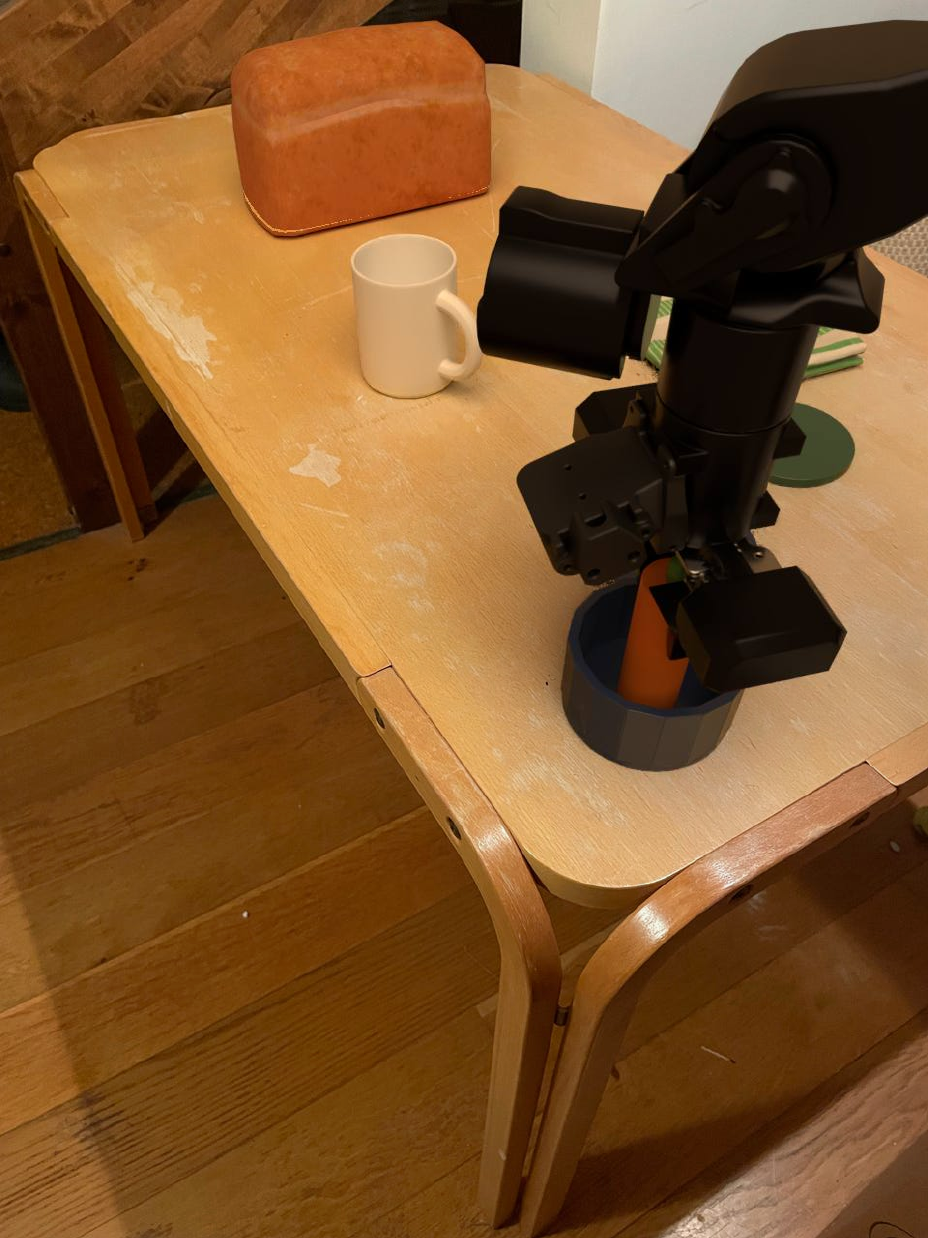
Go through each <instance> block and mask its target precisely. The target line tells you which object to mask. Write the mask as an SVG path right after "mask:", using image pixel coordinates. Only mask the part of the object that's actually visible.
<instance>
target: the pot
mask: <svg viewBox="0 0 928 1238" xmlns="http://www.w3.org/2000/svg"><path fill="white" fill-rule="evenodd" d="M637 594H638V585H637V578H624V579H620V580H618V581H616V582H614V581H612V582H611V583H609V584H607V585H606V584H605V585H604V586H602V587H599V588H597V589H596V590H593V591H592V592H591V593H590V594H589V595H588V597H586V598H585V599H584V600H583V602H581V604H579V606H577V608H576V609H575V610H574V612H573V615H572V618H571V623H570V626H569V629H568V633H567V638H566V644H565V652H564V660H563V667H562V674H561V681H560V682H561V683H560V693H561V704H562V708H563V711H564V715H565V718H566V720H567V722H568V723H569V725H570V727H571V729H572V730H573V732H574V733H575V735H577V737H578V738H579V739H580V740H581V741H582V743H584V744H585V745H586V746H587V747H588V748H589V749H590V750H592V751H593V752H595V753H596V754H598V755H599V756H601V757H603V758H604V759H606V760H608V761H610V762H612V763H614V764H616V765H618V766H622V767H625V768H629V769H633V770H637V771H643V772H654V773H656V772H670V771H675V770H680V769H684V768H688V767H690V766H692V765H694V764H696V763H699V762H701V761H702V760H704V759H705V758H707V757H708V756H710V755H711V754H712V753H713V752H714V751H715V750H716V749H717V748H718V747H719V745H720V744H721V743H722V742H723V740H724V738H725V736H726V734H727V732H728V731H729V730H730V728H731V726H732V724H733V721H734V718H735V716H736V714H737V711H738V709H739V707H740V703H741V702H742V699H743V696H744V693H745V692H746V689H742V690H737V691H732V692H727V693H723V694H719V693H717V692H715V691H712V690H710V689H708V688H706V687H703V686H702V684H701V682H700V680H699V678H698V676H697V674H696V673H695V671H694V669H693V667H692V665H691V663H690V661H689V663H688V666H687V669H686V672H685V675H684V679H683V682H682V685H681V688H680V692H679V695H678V698H677V701H676V704H675V707H674V708H673V709H666V710H664V709H660V708H656V707H651V706H647V705H642V704H638V703H634V702H630V701H629V700H627V699H625V698H624V697H622V696H620V695H619V694H617V686H618V681H619V677H620V672H621V667H622V663H623V658H624V654H625V649H626V644H627V640H628V635H629V631H630V626H631V621H632V617H633V612H634V608H635V603H636V598H637Z"/></svg>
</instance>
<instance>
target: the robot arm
mask: <svg viewBox="0 0 928 1238" xmlns="http://www.w3.org/2000/svg"><path fill="white" fill-rule="evenodd" d="M927 217H928V20H922V19H921V20H918V19H889V20H888V19H887V20H880V21H872V22H864V23H854V24H848V25H847V24H845V25H839V26H831V27H829V26H828V27H822V28H821V27H820V28H814V29H813V28H812V29H805V30H798V31H795V32H789V33H786V34H784V35H782V36H780V37H777V38H776V39H774V40H772V41H770V42H768V43H765V44H763V45H761V46H760V47H759V48H757V49H756V50H755V51H754V52H752V54H750V55H749V56H748V57H746V58H745V60H744V61H743V62H742V64H741V65H740V66H739V68H738V69H737V70H736V72H735V73H734V75H733V76H732V78H731V80H730V82H729V83H728V84H727V86H726V88H725V90H724V91H723V92H722V94H721V96H720V99H719V101H718V103H717V104H716V106H715V109H714V111H713V113H712V115H711V117H710V119H709V121H708V123H707V125H706V127H705V129H704V131H703V134H702V136H701V138H700V139H699V142H698V144H697V145H696V148H695V149H694V150H693V151H692V152H691V153H690V154H689V155H688V156H687V157H686V158H685V159H684V160H683V161H682V162H681V163H680V164H679V165H678V166H677V167H676V168H675V169H674V170H672V171H671V172H669V173H666V174H665V176H664V178H663V180H662V182H661V183H660V185H659V187H658V189H657V191H656V193H655V195H654V196H653V199H652V200H651V202H650V204H649V206H648V208H647V210H646V211H645V210H644V209H636V208H630V207H624V206H618V205H612V204H607V203H606V204H605V203H599V202H593V201H588V200H580V199H574V198H568V197H564V196H562V195H559V194H557V193H554V192H552V191H549V190H547V189H544V188H538V187H532V186H525V185H518V186H516V187H515V188H514V189H513V191H511V193H510V194H509V196H508V197H507V198H506V199H505V201H504V202H503V204H502V205H501V206H500V207H499V210H498V235H497V237H496V239H495V242H494V244H493V249H492V251H491V254H490V258H489V262H488V267H487V270H486V275H485V281H484V285H483V286H484V287H483V293H482V296H481V297H480V299H479V300H478V302H477V306H476V317H475V318H476V325H477V338H478V343H479V347H480V349H481V351H482V353H483V355H485V356H487V357H493V358H497V359H501V360H507V361H511V362H517V363H522V364H527V365H531V366H535V367H542V368H546V369H551V370H556V371H560V372H566V373H569V374H570V373H571V374H575V375H579V376H584V377H589V378H594V379H598V380H599V379H600V380H604V381H608V382H610V381H612V380H613V379H616V380H620V379H621V378H622V375H623V371H624V368H625V364H626V358H627V357H628V359H629V360H633V361H637V362H643V361H644V360H645V358H646V357H645V356H646V353H647V350H648V348H649V345H650V342H651V338H652V335H653V331H654V328H655V324H656V320H657V316H658V312H659V307H660V302H661V297H662V296H664V297H669V298H673V303H672V308H671V314H670V319H669V324H668V329H667V335H666V340H665V345H664V350H663V356H662V361H661V366H660V369H659V371H658V372H659V373H658V378H657V380H656V381H655V382H648V383H643V384H636V385H629V386H621V387H616V388H609V389H602V390H596V391H592V392H591V393H590V394H589V395H588V396H587V397H586V398H585V399H583V401H582V402H581V403H579V404H578V405H577V406H576V407H575V408H574V418H573V425H572V435H571V437H572V439H573V440H574V442H572V443H570V444H567V445H565V446H563V447H561V448H559V449H556V450H553V451H551V452H549V453H547V454H545V455H543V456H540V457H538V458H537V459H534V460H532V461H529V462H528V463H526V464H525V465H524V466H523V467H522V468H521V469H520V470H519V471H518V473H517V475H516V479H515V481H516V485H517V488H518V490H519V493H520V495H521V497H522V500H523V501H524V505H525V507H526V509H527V511H528V513H529V516H530V518H531V520H532V523H533V525H534V527H535V530H536V532H537V534H538V537H539V539H540V541H541V544H542V546H543V549H544V550H545V553H546V555H547V557H548V560H549V562H550V564H551V567H552V568H553V570H554V571H555V572H556V573H557V574H558V575H561V576H564V577H572V576H577V575H579V576H580V578H581V580H582V582H583V584H584V585H585V586H589V587H599V586H602V585H604V584H606V583H609V582H611V581H613V580H614V579H616V578H618V577H621V576H623V575H625V574H628V573H630V572H632V571H635V572H636V578H637V585H638V589H639V585H640V580H641V576H642V573H643V571H644V569H645V568H646V567H647V566H648V565H649V564H650V563H652V562H654V561H656V560H659V559H663V558H672V557H673V556H675V555H677V557H678V559H679V560H680V562H681V564H682V566H683V568H684V569H685V571H686V573H687V574H688V576H686V577H685V579H684V580H682V581H677V582H672V583H667V584H661V585H656V586H651V587H649V590H650V592H651V594H652V596H653V598H654V600H655V602H656V604H657V606H658V608H659V610H660V612H661V613H662V615H663V617H664V619H665V621H666V623H667V625H668V630H667V657H668V659H669V660H670V661H673V660H678V659H683V658H686V657H688V659H689V661H690V663H691V665H692V667H693V669H694V671H695V673H696V674H697V676H698V678H699V680H700V682H701V684H702V686H703V687H706V688H708V689H710V690H712V691H715V692H717V693H719V694H723V693H727V692H732V691H737V690H742V689H745V690H746V689H750V688H755V687H760V686H765V685H770V684H774V683H780V682H785V681H789V680H793V679H798V678H804V677H807V676H813V675H817V674H822V673H826V672H827V673H828V672H830V670H831V668H832V666H833V665H834V663H835V660H836V658H837V656H838V654H839V652H840V650H841V648H842V646H843V644H844V642H845V640H846V637H847V634H848V629H846V627H845V626H844V624H843V623H842V621H841V620H840V619H839V617H838V615H837V614H836V613H835V611H834V610H833V608H832V607H831V605H830V604H829V603H828V600H826V598H825V597H824V595H823V593H822V591H820V589H819V588H818V587H817V585H816V583H815V582H814V581H813V579H812V577H811V576H810V575H809V574H808V573H807V572H805V571H804V570H803V569H802V568H800V567H799V566H798V565H791V566H786V567H783V566H782V565H781V563H780V562H779V560H778V559H777V557H776V555H775V554H774V552H772V551H771V550H770V549H769V548H768V547H765V546H763V545H758V544H757V545H754V544H752V543H751V542H750V541H749V539H748V538H747V536H746V535H747V532H748V531H749V530H751V531H753V530H759V529H763V528H770V527H774V526H776V524H777V521H778V518H779V516H780V512H781V508H780V506H779V505H778V504H777V502H776V501H775V499H774V497H773V496H772V495H771V494H770V492H769V491H768V489H767V488H768V486H769V484H770V483H769V480H770V477H771V474H772V471H773V468H774V465H775V462H776V459H781V458H787V457H793V456H799V455H800V454H801V451H802V449H803V446H804V443H805V440H806V437H807V436H806V435H805V433H804V432H803V431H802V430H801V428H800V427H799V426H798V425H797V423H796V422H795V421H794V420H793V418H792V417H791V414H792V411H793V408H794V405H795V402H796V401H797V399H798V395H799V393H800V389H801V387H802V384H803V381H804V379H805V378H804V375H805V372H806V369H807V366H808V363H809V360H810V357H811V354H812V351H813V348H814V345H815V342H816V339H817V336H818V333H819V330H820V327H827V328H832V329H838V330H843V331H849V332H854V333H857V334H859V335H870V334H871V335H872V334H873V333H874V332H876V331H877V330H878V329H879V328H880V325H881V324H880V323H881V318H882V309H883V301H884V293H885V285H886V277H885V276H884V274H883V273H882V272H881V271H880V270H879V269H878V267H877V266H876V265H875V264H874V262H873V261H872V260H871V259H870V258H869V257H868V255H867V254H866V252H865V250H864V247H866V246H869V245H873V244H874V243H875V244H876V243H878V242H881V241H883V240H886V239H889V238H892V237H894V236H896V235H897V234H900V233H901V232H903V231H905V230H907V229H908V228H911V227H912V226H914V225H915V224H917V223H919V222H921V221H923V220H924V219H926V218H927ZM803 378H804V379H803Z"/></svg>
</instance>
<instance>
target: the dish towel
mask: <svg viewBox="0 0 928 1238" xmlns="http://www.w3.org/2000/svg"><path fill="white" fill-rule="evenodd" d="M672 303H673V298H669V297H664V296H662V297H661V302H660V307H659V312H658V316H657V320H656V324H655V328H654V331H653V335H652V338H651V342H650V345H649V348H648V350H647V353H646V356H645V358H646V359H647V360H648V361H649V362H650V363H651V364H653V366H655V367H656V368H657V369H658V370H660V366H661V361H662V356H663V350H664V345H665V340H666V335H667V329H668V324H669V319H670V314H671V308H672ZM867 348H868V345H867V343H866V342H864V341H863V340H862V338H861V337H860V336H859V333H854V332H849V331H843V330H838V329H832V328H827V327H820V330H819V333H818V336H817V339H816V342H815V345H814V348H813V351H812V354H811V357H810V360H809V363H808V366H807V369H806V372H805V375H804V378H803V380H804V379H807V378H811V377H816V376H819V375H820V376H821V375H824V374H828V373H831V372H835V371H839V370H842V369H846V368H850V367H854V366H858V365H859V366H860V365H862V364H864V362H865V361H864V359H863V357H862V356H860V355H863V354H864V353H866V352H867Z"/></svg>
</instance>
